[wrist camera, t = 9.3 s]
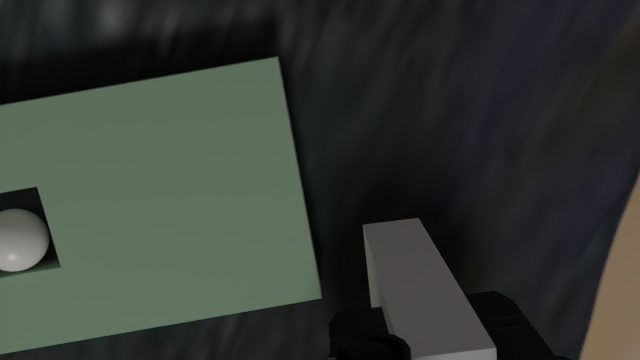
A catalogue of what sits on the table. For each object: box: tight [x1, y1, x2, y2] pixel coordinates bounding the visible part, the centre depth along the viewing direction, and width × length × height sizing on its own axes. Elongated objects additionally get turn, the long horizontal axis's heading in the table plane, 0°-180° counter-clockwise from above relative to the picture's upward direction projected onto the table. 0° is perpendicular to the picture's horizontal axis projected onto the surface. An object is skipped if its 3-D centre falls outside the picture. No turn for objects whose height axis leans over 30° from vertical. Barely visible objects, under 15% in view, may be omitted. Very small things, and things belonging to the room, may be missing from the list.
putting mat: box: [0, 56, 322, 354], centre depth 33 cm, size 17×24×14 cm
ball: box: [0, 209, 49, 272], centre depth 38 cm, size 4×4×4 cm
